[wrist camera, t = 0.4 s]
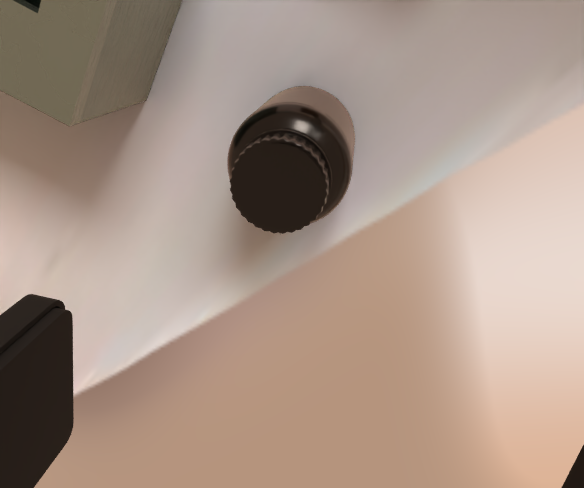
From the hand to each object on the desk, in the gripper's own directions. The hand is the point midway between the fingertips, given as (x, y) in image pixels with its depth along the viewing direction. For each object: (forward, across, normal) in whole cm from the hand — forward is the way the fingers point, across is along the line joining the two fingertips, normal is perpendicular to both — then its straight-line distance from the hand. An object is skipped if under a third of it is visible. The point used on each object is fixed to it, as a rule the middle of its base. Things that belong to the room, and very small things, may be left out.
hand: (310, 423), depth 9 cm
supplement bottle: (+28, +3, +1) cm, 29 cm away
